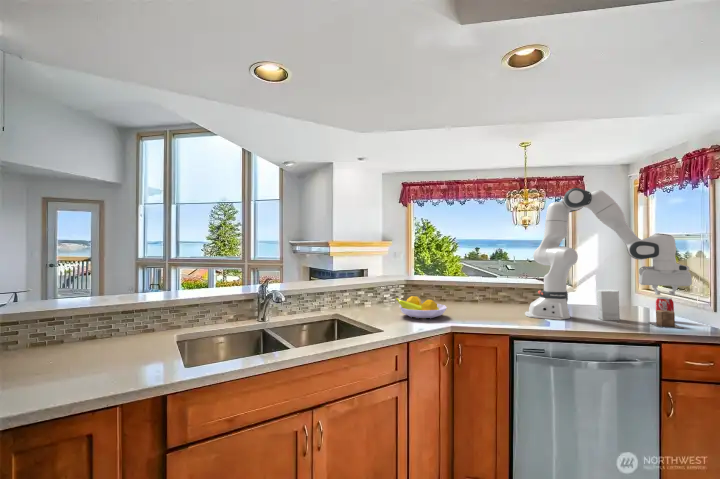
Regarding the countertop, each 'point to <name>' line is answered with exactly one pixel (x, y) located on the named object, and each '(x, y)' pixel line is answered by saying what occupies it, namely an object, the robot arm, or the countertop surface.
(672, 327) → the square metal plate
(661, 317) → the shipping carton
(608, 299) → the skincare box
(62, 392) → the countertop surface
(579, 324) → the countertop surface
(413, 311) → the fruit bowl
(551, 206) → the robot arm
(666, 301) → the soda can
